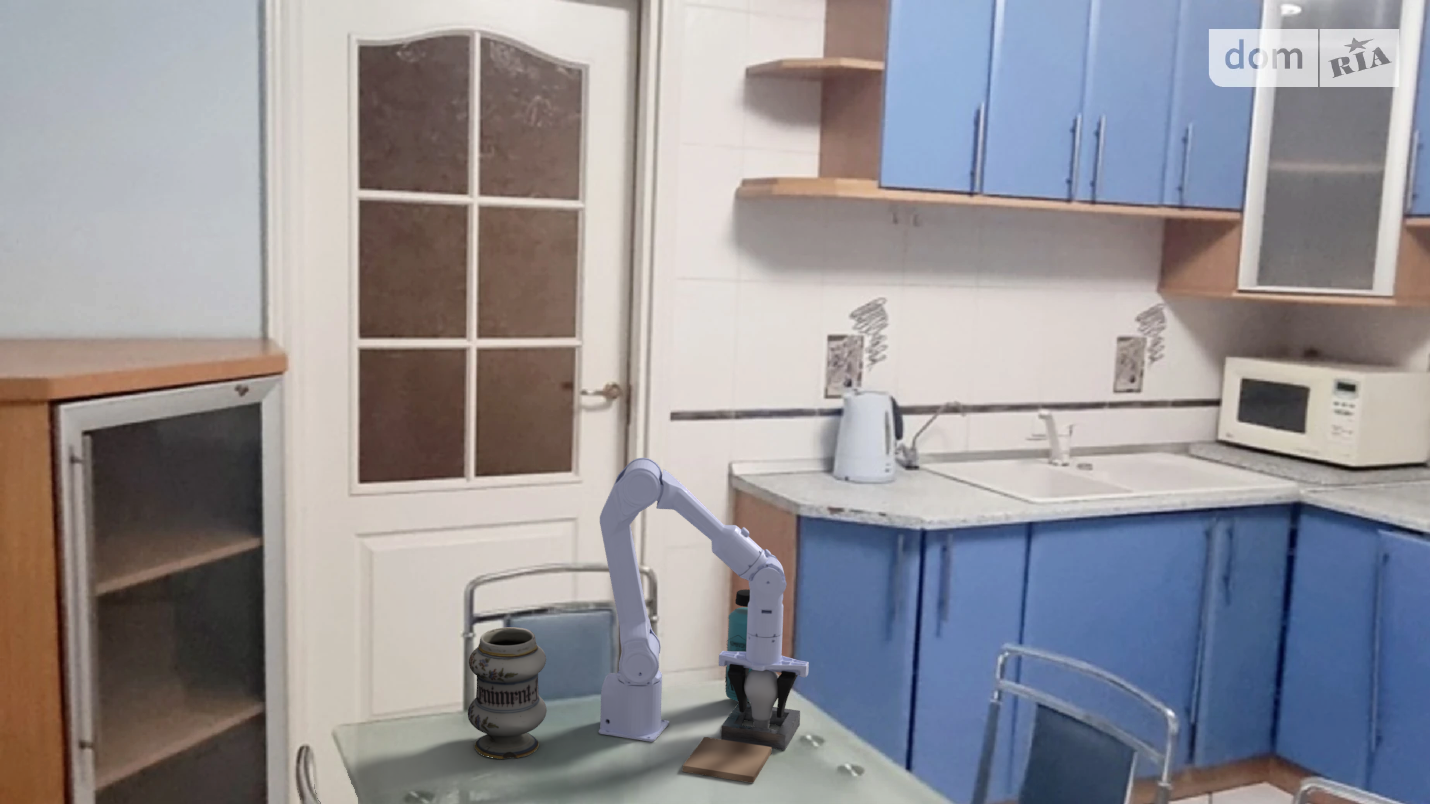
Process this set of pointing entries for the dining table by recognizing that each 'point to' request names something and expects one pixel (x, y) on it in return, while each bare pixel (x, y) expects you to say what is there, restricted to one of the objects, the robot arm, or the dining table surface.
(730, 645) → the beverage bottle
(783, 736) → the holder frame
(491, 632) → the apothecary jar
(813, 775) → the dining table surface
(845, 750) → the dining table surface
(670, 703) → the dining table surface
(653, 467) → the robot arm
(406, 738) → the dining table surface
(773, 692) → the lightbulb
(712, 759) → the walnut pad
